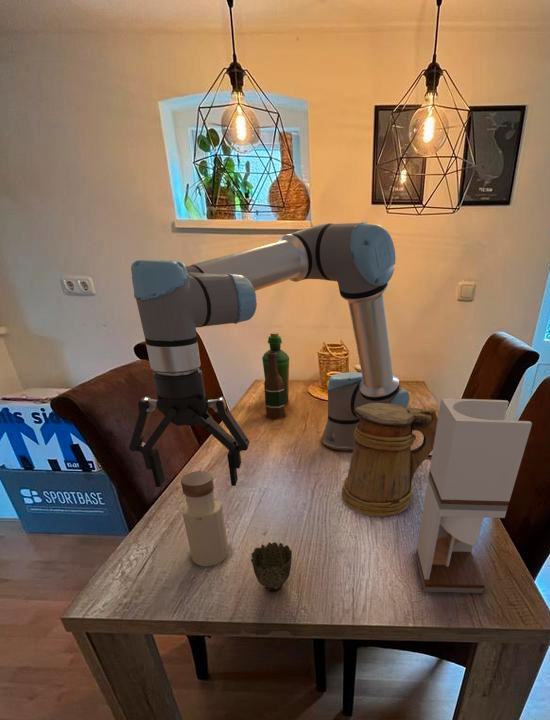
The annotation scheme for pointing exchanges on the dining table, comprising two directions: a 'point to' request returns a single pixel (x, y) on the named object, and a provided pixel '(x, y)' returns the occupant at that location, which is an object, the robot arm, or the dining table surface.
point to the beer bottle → (274, 389)
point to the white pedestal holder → (466, 488)
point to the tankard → (386, 457)
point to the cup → (272, 565)
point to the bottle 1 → (205, 529)
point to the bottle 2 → (278, 362)
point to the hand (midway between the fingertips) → (197, 483)
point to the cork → (197, 484)
